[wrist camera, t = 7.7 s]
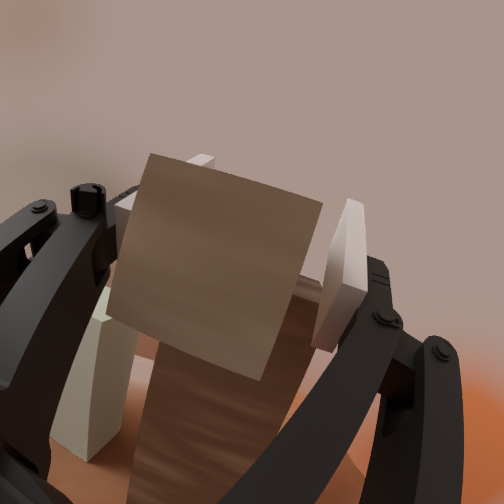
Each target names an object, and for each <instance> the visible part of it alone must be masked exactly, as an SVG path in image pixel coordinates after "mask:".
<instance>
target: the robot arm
mask: <svg viewBox="0 0 504 504" xmlns="http://www.w3.org/2000/svg"><path fill="white" fill-rule="evenodd" d="M187 162H188V163H192V164H196V165H199V166H203V167H207V168H210V169H213V167H214V162H215V157H212V156H208V155H204V154H199V155H198V156H196V157H194V158H192V159H190V160H189V161H187ZM138 188H139V185H138V186H134V187H132V188H130V189H128V190H127V191H125V193H122V194H120V195H119V196H118V197H115V198H113V199H112V200H110V201H109V202H107V203H106V189H105V187H103V186H102V185H100V184H94V183H87V184H81V185H78V186H75V187H74V188H72V189H70V192H71V205H72V212H71V213H70V214H69V215H66V214H58V213H57V209H56V204H55V202H53V201H51V200H46V199H43V200H42V199H41V200H38V201H35V202H33V203H31V204H29V205H27V206H26V207H24V208H23V209H21V210H20V211H18V212H17V213H15V214H14V215H13V216H11V217H10V218H8V219H7V220H5V221H4V222H3V223H1V224H0V504H73V503H72V502H71V501H70V500H69V499H68V498H67V497H66V496H65V495H64V494H63V493H61V492H60V491H59V490H57V489H56V488H55V487H53V486H52V485H51V484H49V483H48V482H47V477H48V473H49V468H50V463H51V449H50V444H49V436H50V431H51V428H52V424H53V421H54V418H55V414H56V411H57V408H58V405H59V402H60V399H61V395H62V392H63V390H64V387H65V384H66V381H67V378H68V375H69V372H70V370H71V367H72V364H73V361H74V359H75V356H76V353H77V351H78V348H79V346H80V343H81V341H82V338H83V336H84V333H85V331H86V328H87V326H88V324H89V321H90V319H91V316H92V314H93V312H94V310H95V307H96V305H97V303H98V300H99V298H100V296H101V294H102V292H103V289H104V287H105V285H106V283H107V281H108V279H109V277H110V272H111V271H110V264H111V263H113V262H114V261H115V260H116V259H117V260H118V256H119V252H120V249H121V245H122V241H123V237H124V234H125V230H126V227H127V223H128V220H129V216H130V213H131V210H132V206H133V203H134V200H135V197H136V194H137V191H138ZM365 233H366V232H365V217H364V205H363V203H360V202H357V201H354V200H352V199H349V198H348V200H347V202H346V205H345V208H344V211H343V214H342V216H341V219H340V221H339V224H338V227H337V230H336V232H335V235H334V237H333V240H332V242H331V245H330V248H329V253H328V259H327V265H326V271H325V277H324V282H323V288H322V293H321V298H320V304H319V309H318V314H317V319H316V324H315V328H314V333H313V338H312V342H311V347H314V348H317V349H321V350H324V351H327V352H330V353H333V351H334V349H335V348H336V346H337V344H338V350H337V353H336V354H335V356H334V358H333V359H332V361H331V362H330V364H329V365H328V367H327V368H326V369H325V371H324V372H323V374H322V376H321V377H320V378H319V380H318V381H317V383H316V384H315V385H314V387H313V388H312V390H311V391H310V392H309V394H308V395H307V397H306V398H305V399H304V401H303V402H302V403H301V405H300V406H299V407H298V409H297V410H296V411H295V413H294V414H293V415H292V417H291V418H290V419H289V421H288V422H287V423H286V425H285V426H284V427H283V428H282V430H281V431H280V432H279V433H278V435H277V436H276V437H275V438H274V440H273V441H272V442H271V443H270V445H269V446H268V447H267V448H266V449H265V451H264V452H263V453H262V454H261V455H260V457H259V458H258V459H257V460H256V461H255V462H254V464H253V465H252V466H251V467H250V468H249V469H248V470H247V472H246V473H245V474H244V475H243V476H242V477H241V478H240V479H239V480H238V482H237V483H236V484H235V485H234V486H233V487H232V488H231V489H230V490H229V491H228V492H227V493H226V494H225V495H224V497H223V498H222V499H221V500H220V501H219V502H218V503H217V504H314V503H315V502H316V501H317V499H318V498H319V496H320V495H321V493H322V492H323V490H324V488H325V487H326V485H327V484H328V482H329V481H330V479H331V477H332V476H333V474H334V473H335V471H336V469H337V468H338V466H339V464H340V463H341V461H342V459H343V457H344V456H345V454H346V452H347V450H348V448H349V447H350V445H351V443H352V441H353V440H354V438H355V436H356V434H357V432H358V430H359V428H360V426H361V424H362V422H363V420H364V418H365V416H366V414H367V412H368V410H369V408H370V406H371V404H372V402H373V400H374V398H375V396H376V394H377V393H379V394H381V399H380V406H379V412H378V419H377V424H376V431H375V436H374V441H373V446H372V451H371V456H370V461H369V465H368V470H367V474H366V478H365V482H364V486H363V490H362V494H361V498H360V501H359V504H461V495H462V483H463V463H464V421H463V401H462V387H461V377H460V368H459V359H458V355H457V352H456V350H455V349H454V347H453V346H452V345H451V344H450V343H449V342H448V341H447V340H445V339H443V338H442V337H439V336H435V335H434V336H429V337H428V338H427V339H426V340H425V341H424V342H423V343H422V342H420V341H418V340H417V339H415V338H414V337H412V336H410V335H409V334H407V333H406V332H405V331H404V330H403V321H402V319H401V317H400V315H399V314H398V313H397V312H396V311H395V310H394V309H393V305H392V295H391V288H390V280H389V279H390V277H389V270H388V269H387V267H386V266H385V264H384V262H383V261H381V260H378V259H376V258H373V257H369V256H367V251H366V234H365ZM28 243H30V247H31V251H32V257H30V258H29V259H27V257H26V254H25V249H24V247H25V246H26V245H27V244H28Z"/></svg>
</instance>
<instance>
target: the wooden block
mask: <svg viewBox="0 0 504 504" xmlns="http://www.w3.org/2000/svg"><path fill="white" fill-rule="evenodd" d="M321 293H322V287H321V284H320V282H319V281H316V280H313V279H311V278H307V277H305V276H302V275H299V277H298V280H297V283H296V286H295V289H294V292H293V294H292V297H291V300H290V303H289V305H288V308H287V311H286V314H285V316H284V319H283V322H282V325H281V327H280V330H279V333H278V335H277V338H276V341H275V343H274V346H273V348H272V351H271V354H270V356H269V359H268V361H267V364H266V366H265V369H264V372H263V374H262V377H261V379H260V381H258V380H255V379H252V378H249V377H247V376H244V375H241V374H238V373H236V372H233V371H230V370H228V369H225V368H223V367H220V366H217V365H215V364H212V363H210V362H207V361H205V360H202V359H200V358H198V357H195V356H193V355H190V354H188V353H186V352H183V351H181V350H179V349H177V348H174V347H172V346H170V345H168V344H165V343H163V342H161V341H160V342H159V346H158V350H157V354H156V358H155V362H154V366H153V370H152V374H151V378H150V383H149V387H148V391H147V396H146V400H145V405H144V409H143V414H142V419H141V424H140V429H139V434H138V439H137V444H136V449H135V454H134V460H133V465H132V471H131V477H130V483H129V489H128V495H127V502H126V504H217V503H218V502H219V501H220V500H221V499H222V498H223V497H224V495H225V494H226V493H227V492H228V491H229V490H230V489H231V488H232V487H233V486H234V485H235V484H236V483H237V482H238V480H239V479H240V478H241V477H242V476H243V475H244V474H245V473H246V472H247V470H248V469H249V468H250V467H251V466H252V465H253V464H254V462H255V461H256V460H257V459H258V458H259V457H260V455H261V454H262V453H263V452H264V451H265V449H266V448H267V447H268V446H269V445H270V443H271V442H272V441H273V440H274V438H275V437H276V435H277V433H278V431H279V429H280V427H281V425H282V423H283V421H284V419H285V417H286V415H287V413H288V411H289V408H290V406H291V404H292V402H293V400H294V398H295V395H296V393H297V391H298V389H299V387H300V384H301V382H302V380H303V378H304V375H305V373H306V371H307V368H308V366H309V364H310V361H311V359H312V357H313V354H314V352H315V349H316V348H314V347H311V342H312V338H313V333H314V328H315V324H316V319H317V314H318V309H319V304H320V298H321Z"/></svg>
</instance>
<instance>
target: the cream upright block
mask: <svg viewBox="0 0 504 504" xmlns="http://www.w3.org/2000/svg"><path fill="white" fill-rule="evenodd" d="M110 290H111V288H108V287H106V286H105V287H104V289H103V292H102V294H101V296H100V298H99V300H98V303H97V305H96V307H95V310H94V312H93V314H92V316H91V319H90V321H89V324H88V326H87V328H86V331H85V333H84V336H83V338H82V341H81V343H80V346H79V348H78V351H77V353H76V356H75V359H74V361H73V364H72V367H71V370H70V372H69V375H68V378H67V381H66V384H65V387H64V390H63V392H62V395H61V399H60V402H59V405H58V408H57V411H56V414H55V418H54V421H53V424H52V428H51V431H50V437H51V438H52V439H54V440H55V441H56V442H58V443H59V444H60V445H62V446H63V447H64V448H66V449H67V450H69V451H70V452H72V453H73V454H75V455H76V456H77V457H79V458H80V459H82V460H84V461H85V462H88V461H89V460H90V459H91V458H92V457H93V456H94V455H95V454H96V453H98V452H99V451H100V450H101V449H102V448H103V447H104V446H105V445H106V444H107V443H108V442H109V441H110V440H111V439H112V438H113V437H114V436H115V435H116V434H117V433H118V432H119V431H120V430H121V424H122V418H123V412H124V406H125V400H126V395H127V389H128V384H129V379H130V374H131V369H132V364H133V359H134V354H135V350H136V345H137V341H138V336H139V332H140V331H137V330H135V329H133V328H131V327H129V326H127V325H125V324H123V323H121V322H119V321H117V320H115V319H113V318H111V317H110V316H108V315H106V309H107V304H108V299H109V294H110Z"/></svg>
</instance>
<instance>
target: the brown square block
mask: <svg viewBox="0 0 504 504" xmlns="http://www.w3.org/2000/svg"><path fill="white" fill-rule="evenodd" d="M322 205H323V203H321V202H318V201H315V200H312V199H309V198H306V197H303V196H300V195H297V194H294V193H291V192H288V191H285V190H281V189H278V188H275V187H272V186H269V185H266V184H262V183H259V182H256V181H252V180H249V179H245V178H242V177H238V176H235V175H232V174H228V173H225V172H221V171H217V170H214V169H210V168H207V167H203V166H199V165H196V164H192V163H188V162H184V161H180V160H176V159H172V158H168V157H164V156H160V155H156V154H152V153H151V154H150V156H149V159H148V161H147V164H146V167H145V170H144V173H143V176H142V179H141V182H140V185H139V188H138V191H137V194H136V197H135V200H134V203H133V206H132V210H131V213H130V216H129V220H128V223H127V227H126V230H125V234H124V237H123V241H122V245H121V249H120V252H119V256H118V260H117V264H116V268H115V272H114V277H113V281H112V285H111V290H110V294H109V299H108V304H107V309H106V315H108V316H110V317H111V318H113V319H115V320H117V321H119V322H121V323H123V324H125V325H127V326H129V327H131V328H133V329H135V330H137V331H140V332H142V333H144V334H146V335H148V336H150V337H152V338H154V339H157V340H159V341H161V342H163V343H165V344H168V345H170V346H172V347H174V348H177V349H179V350H181V351H183V352H186V353H188V354H190V355H193V356H195V357H198V358H200V359H202V360H205V361H207V362H210V363H212V364H215V365H217V366H220V367H223V368H225V369H228V370H230V371H233V372H236V373H238V374H241V375H244V376H247V377H249V378H252V379H255V380H258V381H260V379H261V377H262V374H263V372H264V369H265V366H266V364H267V361H268V359H269V356H270V354H271V351H272V348H273V346H274V343H275V341H276V338H277V335H278V333H279V330H280V327H281V325H282V322H283V319H284V316H285V314H286V311H287V308H288V305H289V303H290V300H291V297H292V294H293V292H294V289H295V286H296V283H297V280H298V277H299V274H300V272H301V269H302V266H303V262H304V260H305V257H306V254H307V251H308V248H309V245H310V242H311V239H312V236H313V233H314V230H315V227H316V224H317V221H318V218H319V214H320V211H321V208H322Z"/></svg>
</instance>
